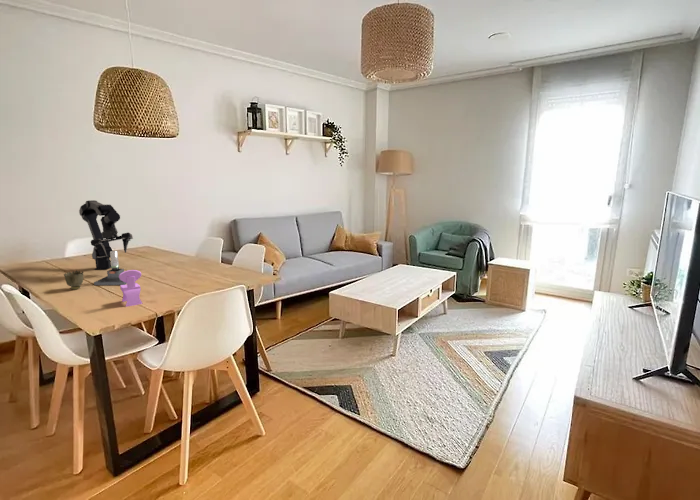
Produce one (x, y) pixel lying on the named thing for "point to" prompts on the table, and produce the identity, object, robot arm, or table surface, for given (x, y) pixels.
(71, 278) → the cup
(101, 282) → the stand
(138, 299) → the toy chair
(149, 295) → the table surface
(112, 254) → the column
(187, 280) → the table surface
